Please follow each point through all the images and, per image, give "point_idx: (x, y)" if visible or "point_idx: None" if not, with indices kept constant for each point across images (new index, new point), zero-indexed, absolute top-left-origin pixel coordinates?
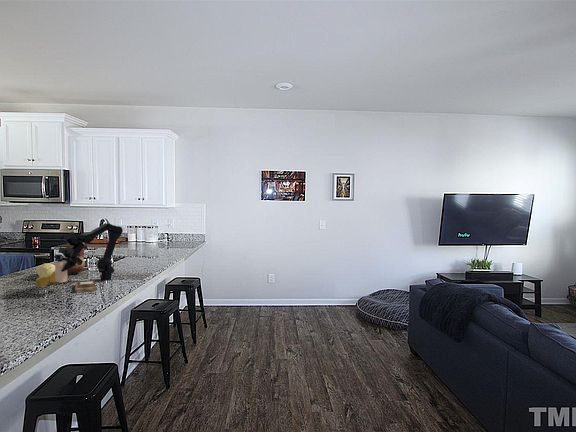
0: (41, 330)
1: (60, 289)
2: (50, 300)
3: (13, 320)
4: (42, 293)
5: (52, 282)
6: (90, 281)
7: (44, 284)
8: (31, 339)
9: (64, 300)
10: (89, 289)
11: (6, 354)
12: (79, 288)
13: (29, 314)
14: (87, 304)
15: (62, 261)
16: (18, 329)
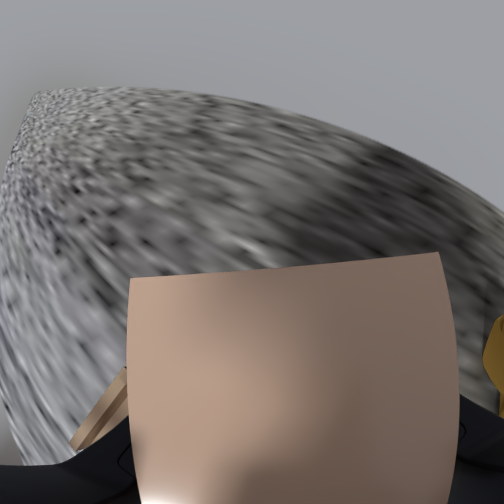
0: (36, 124)
1: None
2: (166, 225)
3: (110, 97)
4: None
5: None
6: None
7: (495, 366)
8: (36, 111)
9: (107, 261)
10: (85, 422)
11: (43, 91)
12: None
13: (106, 123)
14: (17, 270)
15: (322, 501)
16: (70, 100)
